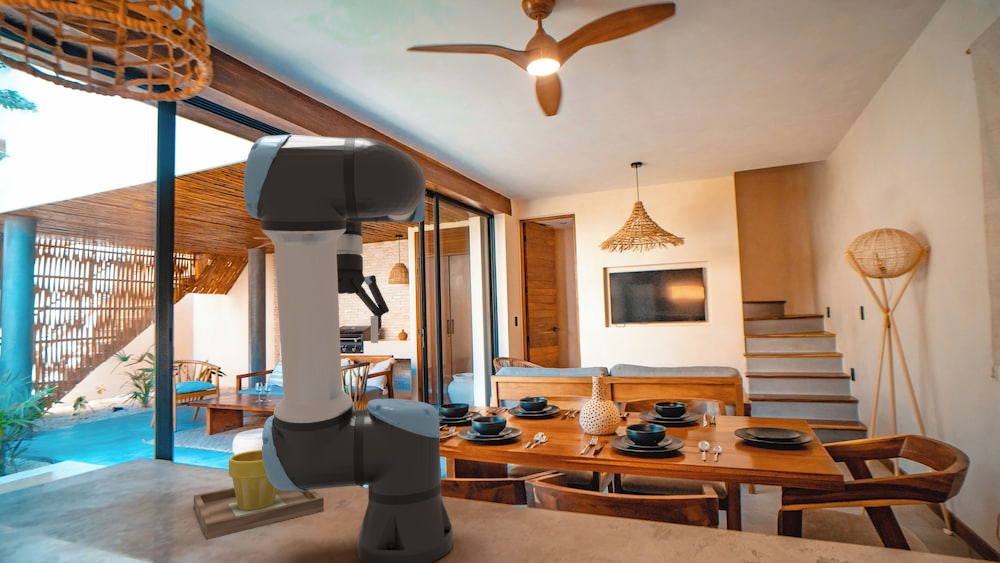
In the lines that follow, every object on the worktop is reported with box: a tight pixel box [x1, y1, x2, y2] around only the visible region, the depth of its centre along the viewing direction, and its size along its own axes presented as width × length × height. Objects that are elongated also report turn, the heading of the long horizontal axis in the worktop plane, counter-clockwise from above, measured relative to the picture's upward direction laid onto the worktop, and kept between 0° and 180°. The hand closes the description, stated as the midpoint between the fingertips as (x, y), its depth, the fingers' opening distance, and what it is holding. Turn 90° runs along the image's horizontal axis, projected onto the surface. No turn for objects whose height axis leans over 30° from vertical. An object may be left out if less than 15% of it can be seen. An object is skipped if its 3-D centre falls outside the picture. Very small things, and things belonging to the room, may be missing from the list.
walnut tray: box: [193, 487, 324, 540], centre depth 102 cm, size 20×20×2 cm
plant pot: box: [228, 449, 277, 510], centre depth 102 cm, size 10×10×10 cm
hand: (347, 344), depth 120 cm, fingers open, 13 cm apart
